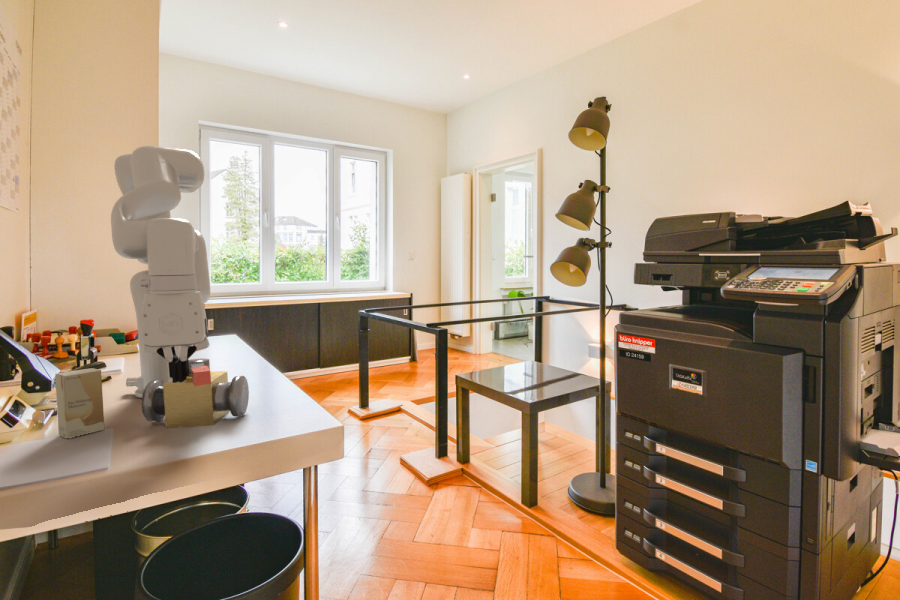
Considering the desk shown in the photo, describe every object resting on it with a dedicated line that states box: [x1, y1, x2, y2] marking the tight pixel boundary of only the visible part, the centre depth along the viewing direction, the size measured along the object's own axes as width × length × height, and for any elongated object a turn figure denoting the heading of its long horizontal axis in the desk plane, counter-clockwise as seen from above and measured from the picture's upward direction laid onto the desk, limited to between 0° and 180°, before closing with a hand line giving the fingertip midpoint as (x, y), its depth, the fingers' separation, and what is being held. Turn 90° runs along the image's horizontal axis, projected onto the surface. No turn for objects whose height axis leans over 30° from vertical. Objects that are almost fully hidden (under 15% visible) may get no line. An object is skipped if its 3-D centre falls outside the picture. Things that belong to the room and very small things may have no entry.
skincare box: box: [54, 367, 105, 439], centre depth 87 cm, size 6×4×12 cm
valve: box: [141, 370, 250, 429], centre depth 94 cm, size 18×9×10 cm, turn 98°
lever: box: [188, 358, 211, 386], centre depth 89 cm, size 15×5×2 cm, turn 34°
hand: (179, 380), depth 85 cm, fingers closed
